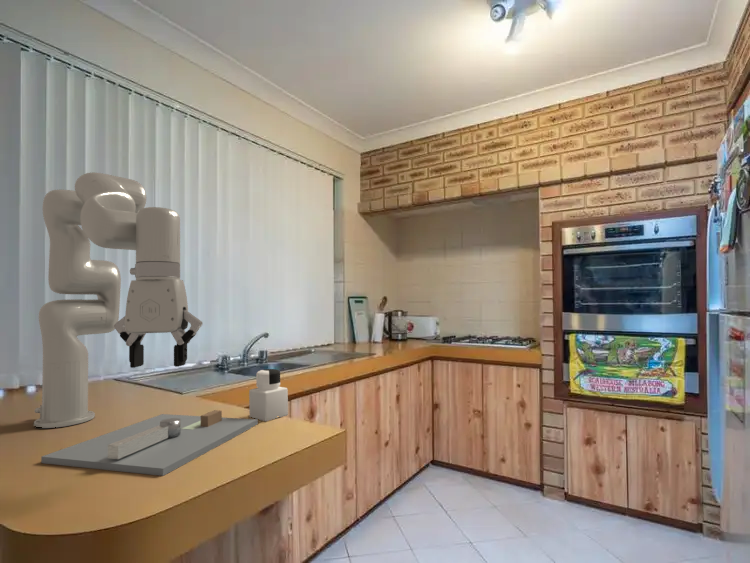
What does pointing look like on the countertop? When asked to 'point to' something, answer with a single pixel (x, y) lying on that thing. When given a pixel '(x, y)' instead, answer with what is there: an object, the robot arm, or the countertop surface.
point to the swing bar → (145, 438)
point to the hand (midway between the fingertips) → (158, 365)
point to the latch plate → (154, 445)
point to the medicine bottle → (268, 396)
